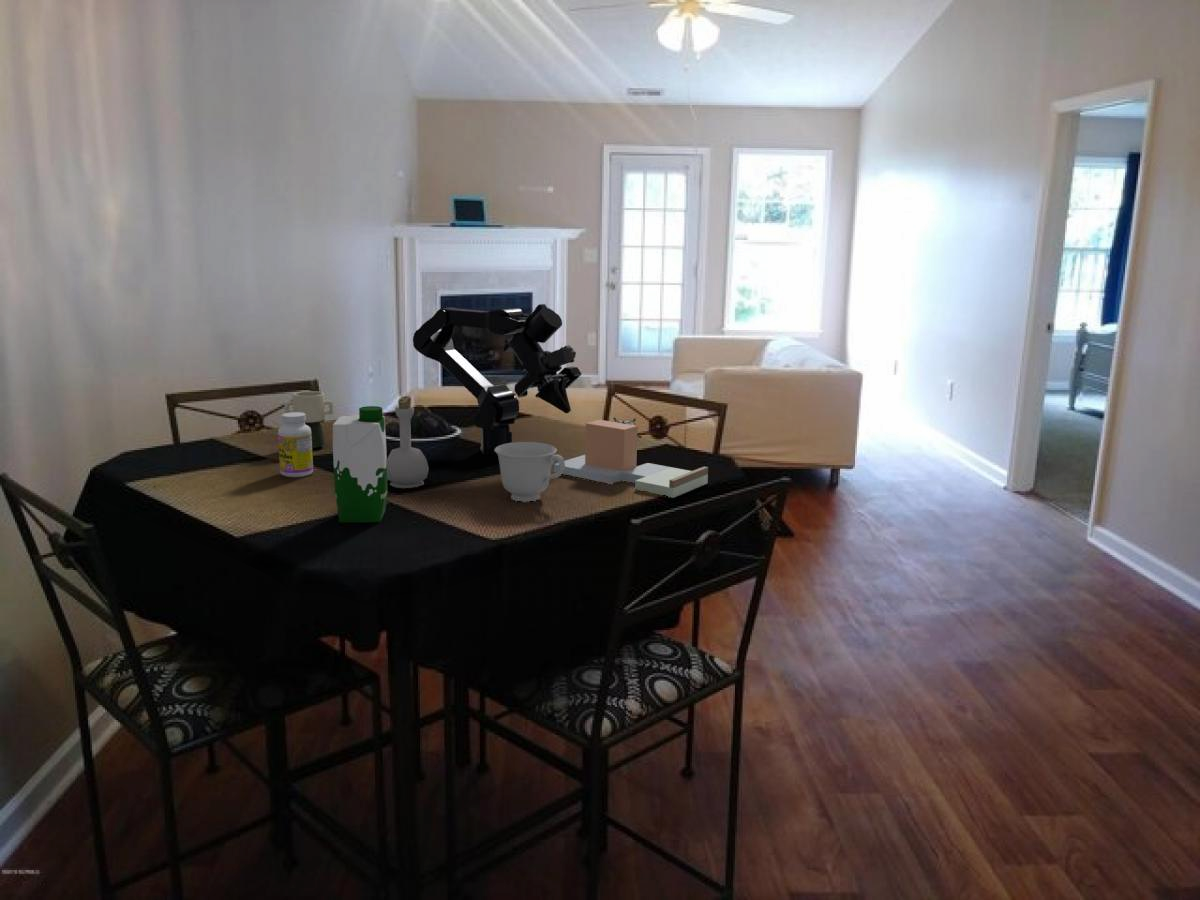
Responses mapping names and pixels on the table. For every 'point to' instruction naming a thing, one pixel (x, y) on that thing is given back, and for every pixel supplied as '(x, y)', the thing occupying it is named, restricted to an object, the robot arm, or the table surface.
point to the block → (611, 445)
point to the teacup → (527, 468)
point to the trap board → (641, 476)
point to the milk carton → (360, 465)
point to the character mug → (311, 412)
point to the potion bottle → (406, 453)
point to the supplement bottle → (295, 446)
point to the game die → (629, 424)
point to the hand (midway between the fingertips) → (568, 412)
